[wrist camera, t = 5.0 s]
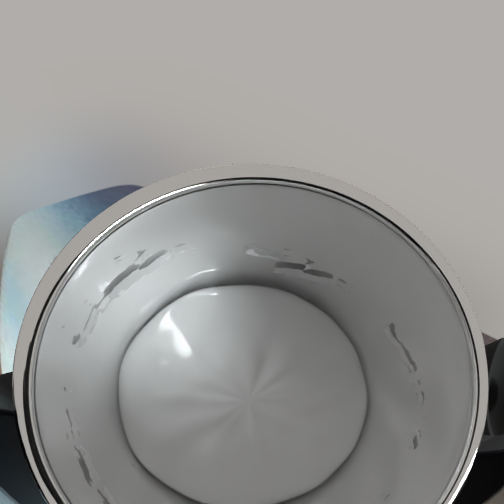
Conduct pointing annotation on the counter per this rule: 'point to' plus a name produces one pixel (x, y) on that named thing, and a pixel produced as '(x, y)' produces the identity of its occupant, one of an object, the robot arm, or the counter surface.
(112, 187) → the counter surface
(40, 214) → the counter surface
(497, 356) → the pen holder
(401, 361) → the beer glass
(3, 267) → the counter surface
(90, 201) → the counter surface
